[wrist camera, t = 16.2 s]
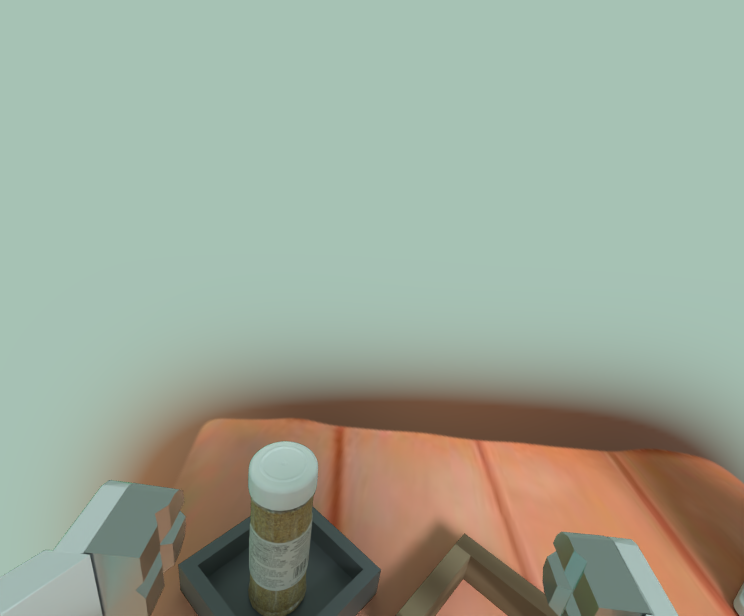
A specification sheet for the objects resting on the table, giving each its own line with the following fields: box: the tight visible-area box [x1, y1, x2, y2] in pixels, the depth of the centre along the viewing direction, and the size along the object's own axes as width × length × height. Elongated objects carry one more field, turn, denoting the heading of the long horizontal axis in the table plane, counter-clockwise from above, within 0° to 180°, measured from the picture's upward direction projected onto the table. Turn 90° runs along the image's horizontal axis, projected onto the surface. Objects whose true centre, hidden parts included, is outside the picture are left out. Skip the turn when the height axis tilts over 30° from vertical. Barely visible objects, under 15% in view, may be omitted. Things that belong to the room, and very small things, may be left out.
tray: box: [178, 507, 381, 616], centre depth 35 cm, size 11×11×3 cm
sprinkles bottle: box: [248, 441, 318, 616], centre depth 32 cm, size 5×5×14 cm
